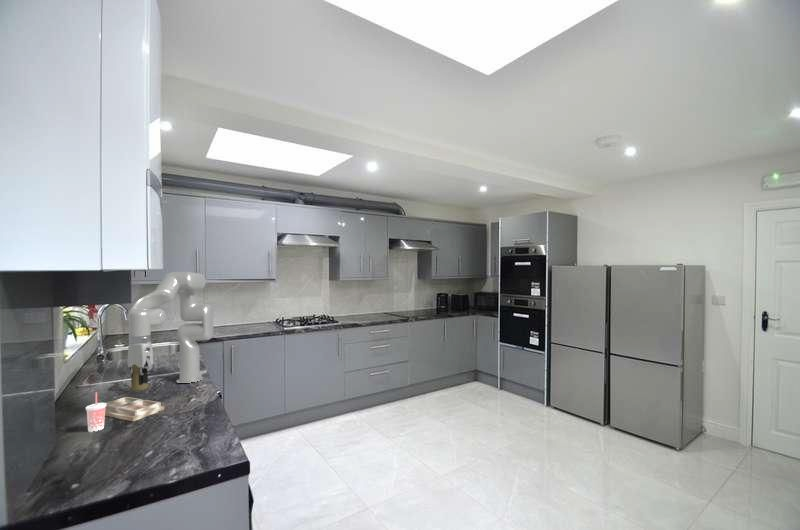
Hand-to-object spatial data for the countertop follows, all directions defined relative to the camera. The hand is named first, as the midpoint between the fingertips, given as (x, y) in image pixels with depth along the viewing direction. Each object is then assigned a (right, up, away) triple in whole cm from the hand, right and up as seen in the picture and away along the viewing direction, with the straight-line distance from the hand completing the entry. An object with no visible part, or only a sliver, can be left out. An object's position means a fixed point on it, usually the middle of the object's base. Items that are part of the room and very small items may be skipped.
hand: (139, 382), depth 151 cm
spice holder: (-5, -13, +2) cm, 14 cm away
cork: (0, -2, 0) cm, 2 cm away
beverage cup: (-5, -13, -15) cm, 21 cm away
